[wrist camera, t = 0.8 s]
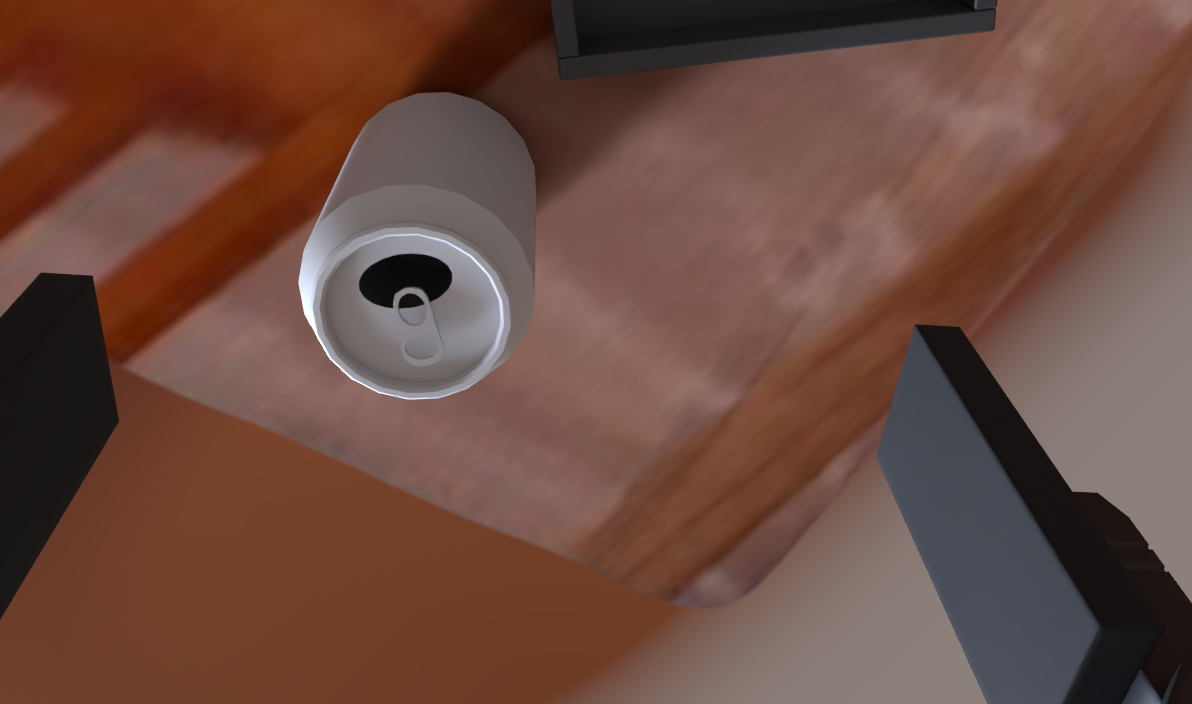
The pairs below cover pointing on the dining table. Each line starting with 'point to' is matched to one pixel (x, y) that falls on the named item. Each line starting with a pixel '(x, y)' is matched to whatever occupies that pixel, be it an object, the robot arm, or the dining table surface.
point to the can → (425, 249)
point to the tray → (742, 29)
